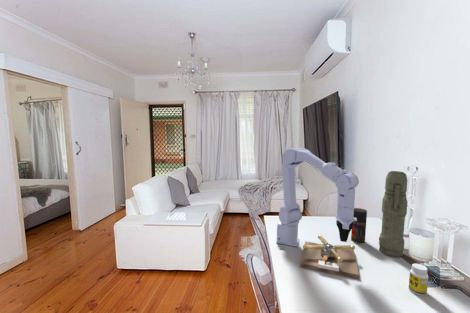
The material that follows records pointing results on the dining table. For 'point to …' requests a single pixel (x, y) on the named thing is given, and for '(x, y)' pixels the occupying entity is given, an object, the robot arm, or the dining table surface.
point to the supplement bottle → (418, 279)
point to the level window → (328, 266)
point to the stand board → (345, 267)
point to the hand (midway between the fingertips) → (343, 240)
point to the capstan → (329, 250)
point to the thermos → (393, 214)
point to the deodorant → (359, 226)
